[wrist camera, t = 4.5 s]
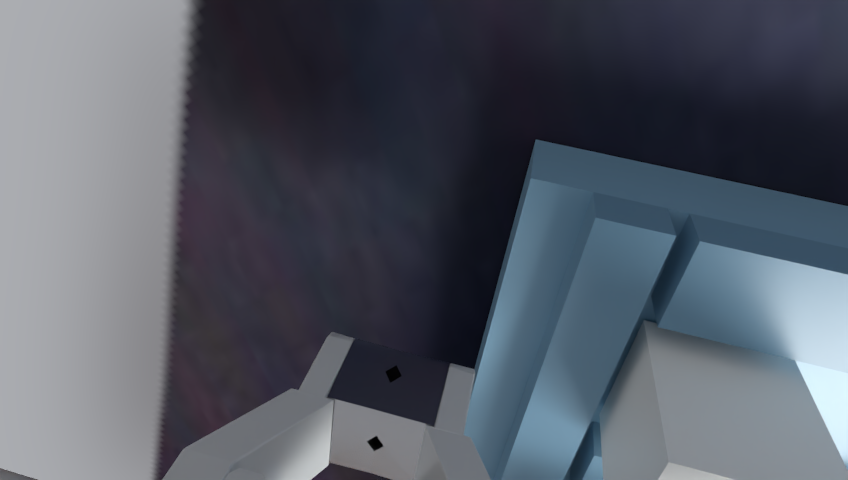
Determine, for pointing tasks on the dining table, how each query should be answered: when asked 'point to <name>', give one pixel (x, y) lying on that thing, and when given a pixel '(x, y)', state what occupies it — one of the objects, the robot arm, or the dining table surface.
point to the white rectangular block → (712, 415)
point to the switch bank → (646, 298)
